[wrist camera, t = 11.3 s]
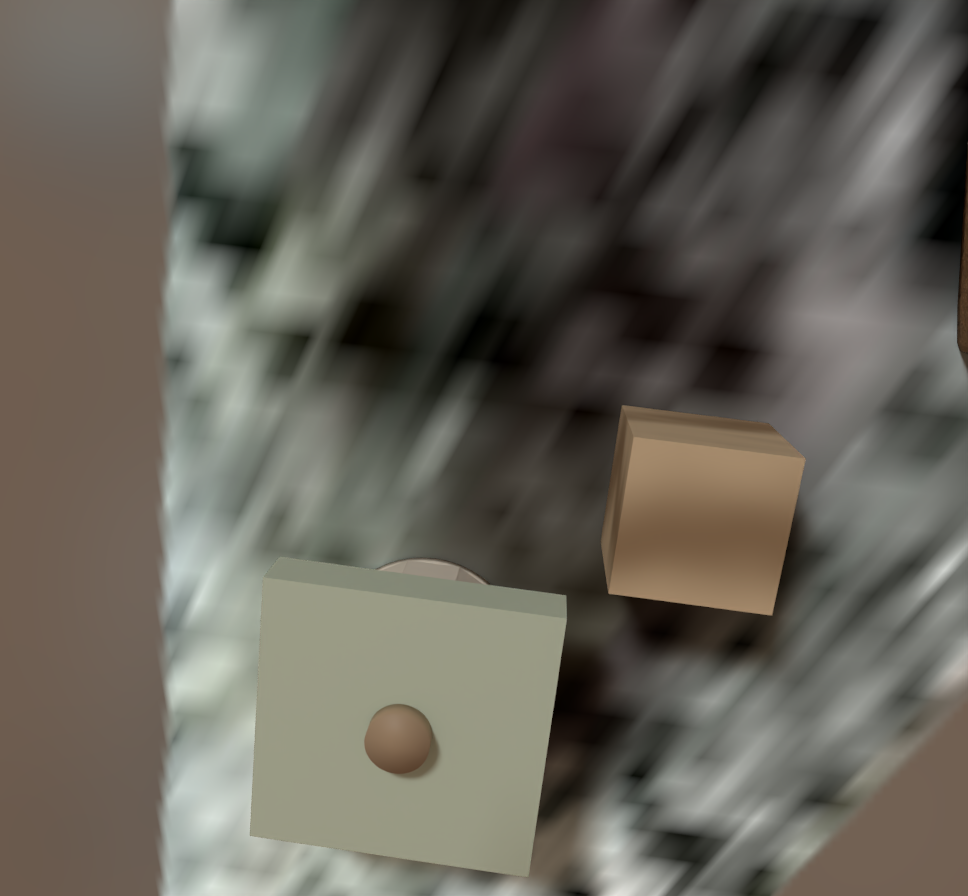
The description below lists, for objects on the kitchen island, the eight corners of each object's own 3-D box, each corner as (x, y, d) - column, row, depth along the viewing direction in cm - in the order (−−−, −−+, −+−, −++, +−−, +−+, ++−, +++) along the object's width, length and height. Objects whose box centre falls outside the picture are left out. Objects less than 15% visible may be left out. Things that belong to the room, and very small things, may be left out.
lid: (279, 556, 34) (255, 585, 31) (566, 595, 33) (566, 628, 31) (265, 803, 37) (243, 849, 34) (529, 842, 36) (527, 892, 33)
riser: (622, 404, 36) (633, 436, 31) (768, 423, 36) (805, 458, 31) (600, 541, 38) (608, 593, 33) (741, 559, 38) (772, 615, 32)
